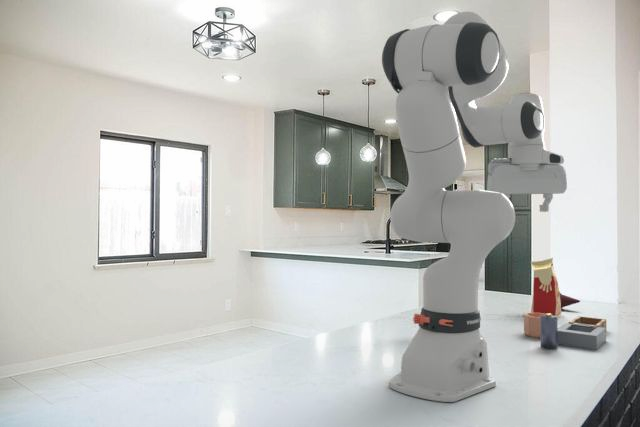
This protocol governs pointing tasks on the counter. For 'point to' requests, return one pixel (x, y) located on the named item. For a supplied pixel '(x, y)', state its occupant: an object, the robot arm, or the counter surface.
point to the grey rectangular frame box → (581, 335)
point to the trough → (589, 321)
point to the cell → (548, 331)
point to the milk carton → (545, 289)
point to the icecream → (567, 300)
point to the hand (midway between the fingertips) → (526, 211)
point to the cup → (532, 324)
